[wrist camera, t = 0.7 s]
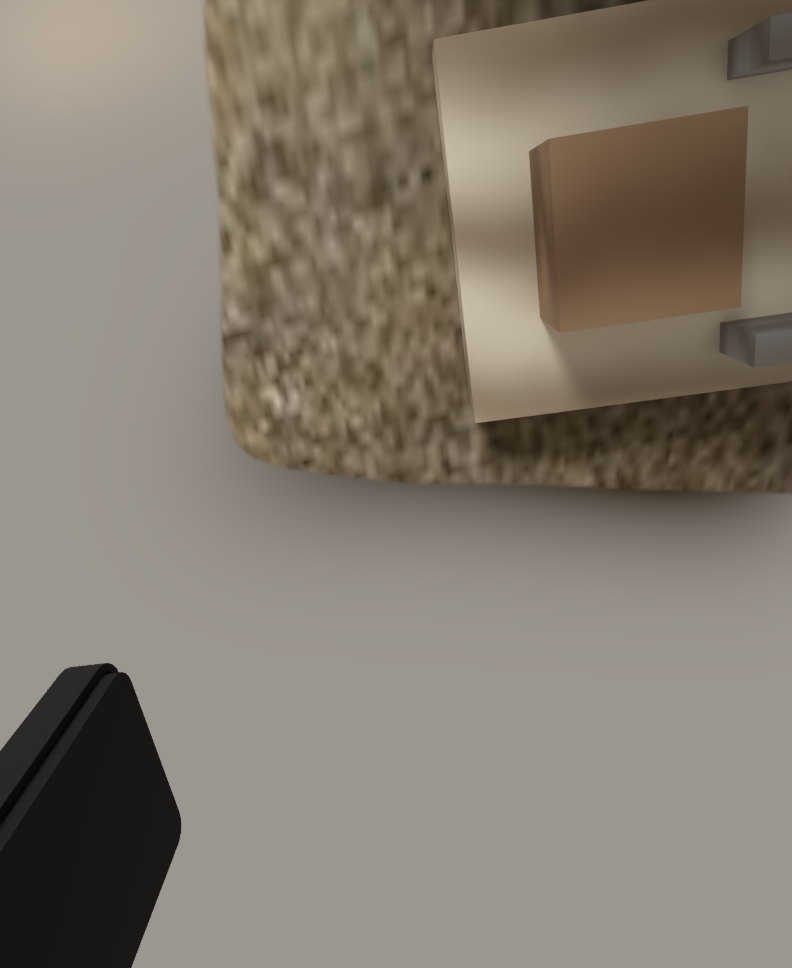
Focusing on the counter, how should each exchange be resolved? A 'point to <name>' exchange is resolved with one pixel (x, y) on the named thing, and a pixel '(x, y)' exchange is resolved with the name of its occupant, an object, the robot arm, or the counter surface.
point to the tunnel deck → (592, 107)
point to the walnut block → (640, 220)
